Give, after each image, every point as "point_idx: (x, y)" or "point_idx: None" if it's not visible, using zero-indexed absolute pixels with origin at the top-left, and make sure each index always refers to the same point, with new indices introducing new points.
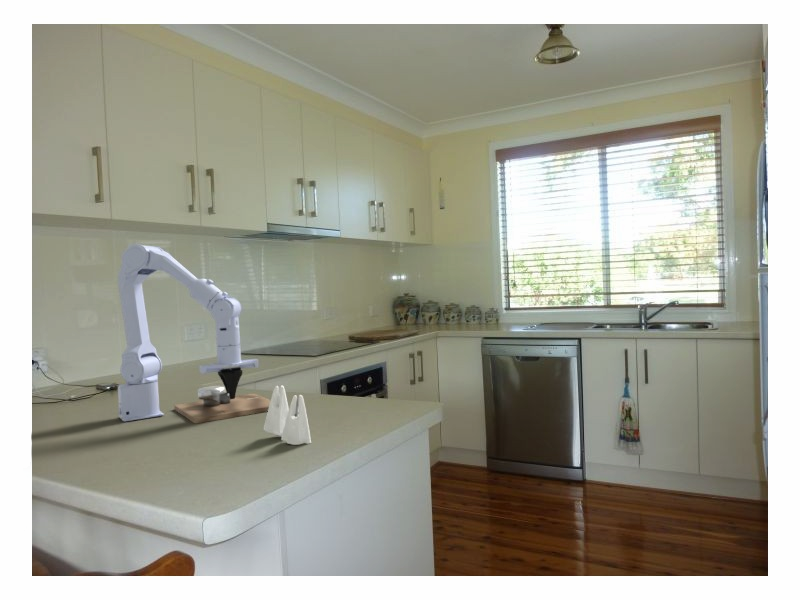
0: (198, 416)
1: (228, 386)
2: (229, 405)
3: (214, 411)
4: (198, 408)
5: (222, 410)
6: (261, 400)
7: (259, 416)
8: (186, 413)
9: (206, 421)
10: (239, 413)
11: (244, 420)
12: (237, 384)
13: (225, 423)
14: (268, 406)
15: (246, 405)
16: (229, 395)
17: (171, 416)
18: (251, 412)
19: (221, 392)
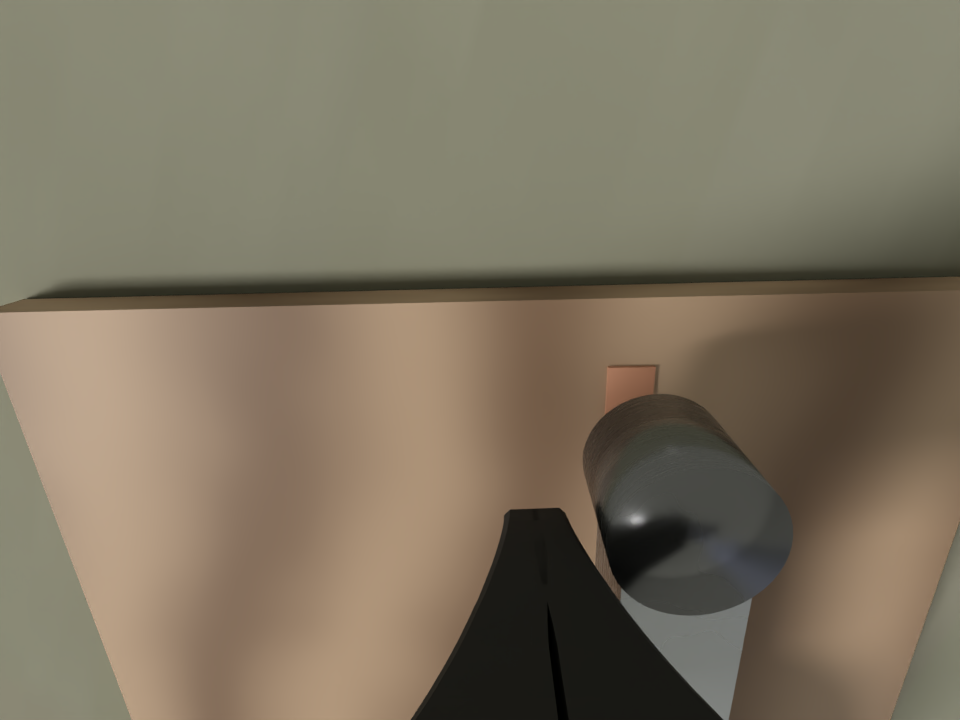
0: (945, 376)
1: (652, 644)
2: None
3: None
4: (755, 706)
5: None
6: (177, 642)
7: (317, 106)
8: (926, 605)
9: (866, 279)
10: (501, 296)
11: (525, 10)
12: (454, 656)
13: (759, 18)
14: (145, 321)
15: (353, 536)
16: (624, 478)
17: (940, 701)
18: (364, 297)
19: None
